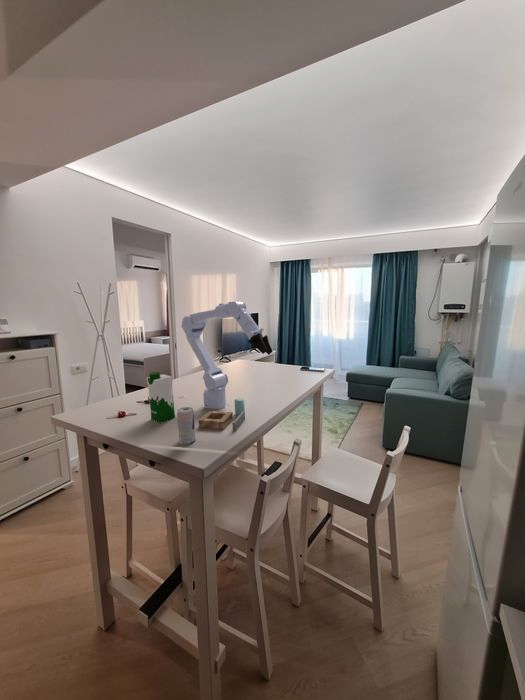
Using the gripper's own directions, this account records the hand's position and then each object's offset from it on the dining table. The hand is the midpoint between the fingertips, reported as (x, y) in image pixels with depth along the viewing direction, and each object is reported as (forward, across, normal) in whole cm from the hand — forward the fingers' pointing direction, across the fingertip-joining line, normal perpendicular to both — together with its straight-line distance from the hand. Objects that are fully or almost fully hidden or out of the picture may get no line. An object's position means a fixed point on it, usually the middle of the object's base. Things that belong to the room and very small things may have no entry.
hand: (268, 352), depth 118 cm
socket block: (+11, -5, +32) cm, 34 cm away
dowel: (+13, +6, +27) cm, 30 cm away
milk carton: (-4, -4, +52) cm, 52 cm away
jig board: (+11, -5, +32) cm, 35 cm away
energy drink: (+12, -21, +37) cm, 44 cm away
